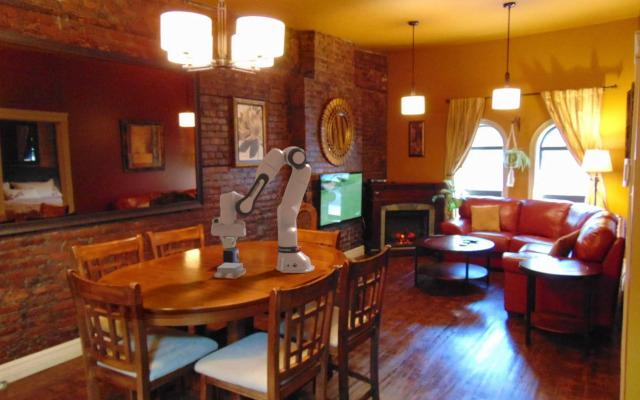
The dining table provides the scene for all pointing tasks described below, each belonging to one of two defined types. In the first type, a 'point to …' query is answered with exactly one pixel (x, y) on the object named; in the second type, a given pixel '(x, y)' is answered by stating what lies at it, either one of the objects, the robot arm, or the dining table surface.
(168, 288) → the dining table surface
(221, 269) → the top slab
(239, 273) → the bottom slab
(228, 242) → the beige block
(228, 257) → the small box
